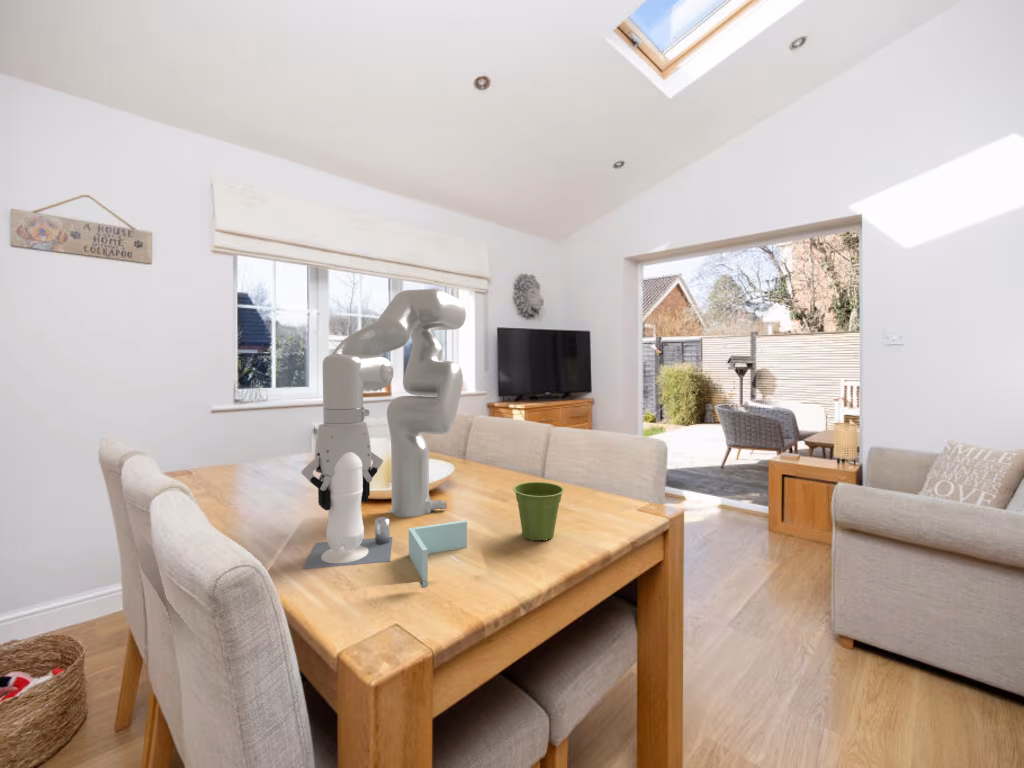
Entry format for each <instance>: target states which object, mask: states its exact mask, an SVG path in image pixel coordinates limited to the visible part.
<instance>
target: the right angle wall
mask: <svg viewBox="0 0 1024 768" xmlns="http://www.w3.org/2000/svg"><path fill="white" fill-rule="evenodd" d="M467 521H468V520H466V519H464V520H457V521H450V522H444V523H443V522H442V523H438V524H430V525H424V526H416V527H409V528H408V556H409V557H410V560H411V561H412V564H413V565H414V567H415V569H416V571H417V573H418V574H419V576H420V578H421V579H422V580H419V581H418V583H419V584H420V586H421V585H422V586H421V588H422V587H423V588H424V589H426V588H425V587H429V586H428V582H429V579H428V578H429V576H428V572H429V571H428V567H429V566H428V564H429V563H428V556H429V554H436V553H441V552H447V551H454V550H458V549H463V548H465V549H466V548H467V547H468V522H467ZM449 557H450V558H452V559H454V560H455V561H456V562H458V563H461V560H459V559H457V558H456V557H455V556H453V555H449ZM423 588H422V589H423Z"/></svg>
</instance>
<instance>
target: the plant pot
mask: <svg viewBox="0 0 1024 768" xmlns="http://www.w3.org/2000/svg"><path fill="white" fill-rule="evenodd" d="M512 491H513V492H514V494H515V497H516V501H517V506H518V511H519V519H520V526H521V527H520V528H521V531H522V532H521V534H522V536H523V538H525V539H526V538H527V540H529V539H530V541H532V540H536V541H541V540H546V539H549V540H551V539H553V537H554V534H555V529H556V523H557V517H558V511H559V507H560V503H561V500H562V495H563V493H565V488H564V487H563V486H561V485H560V484H557V483H552V482H546V481H545V482H543V481H529V482H523V483H518V484H516V485H514V487H513V488H512ZM550 538H551V539H550ZM546 541H547V540H546Z"/></svg>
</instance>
